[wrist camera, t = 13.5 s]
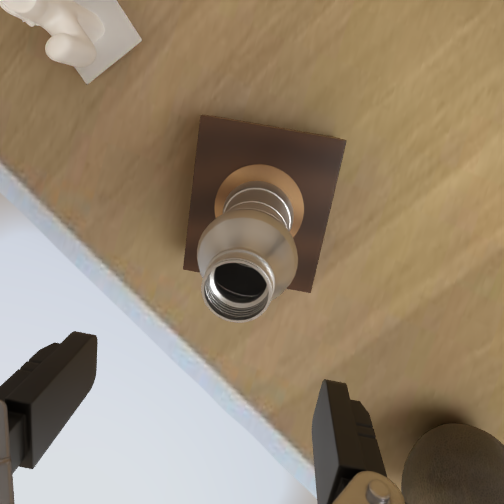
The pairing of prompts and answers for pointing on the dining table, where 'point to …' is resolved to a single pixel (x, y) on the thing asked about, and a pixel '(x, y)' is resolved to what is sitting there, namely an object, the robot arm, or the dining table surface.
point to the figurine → (80, 31)
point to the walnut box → (268, 170)
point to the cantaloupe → (454, 467)
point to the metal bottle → (248, 252)
